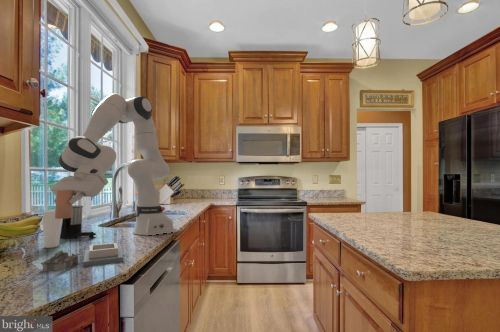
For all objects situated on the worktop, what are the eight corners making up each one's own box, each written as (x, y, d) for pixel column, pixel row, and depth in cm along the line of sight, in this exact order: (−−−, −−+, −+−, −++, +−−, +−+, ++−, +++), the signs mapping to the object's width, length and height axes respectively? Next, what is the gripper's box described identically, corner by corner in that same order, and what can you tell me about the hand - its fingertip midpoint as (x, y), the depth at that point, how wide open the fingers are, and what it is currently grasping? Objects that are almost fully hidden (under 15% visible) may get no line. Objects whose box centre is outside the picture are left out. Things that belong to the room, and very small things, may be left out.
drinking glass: (50, 249, 108) (52, 212, 108) (36, 248, 109) (38, 211, 110) (65, 245, 114) (67, 210, 115) (52, 244, 116) (54, 209, 116)
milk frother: (61, 235, 133) (63, 205, 134) (98, 233, 139) (99, 204, 140) (54, 241, 120) (56, 208, 121) (94, 239, 126) (96, 207, 127)
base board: (119, 250, 109) (120, 240, 109) (122, 261, 95) (123, 250, 95) (85, 253, 103) (85, 243, 103) (83, 266, 89) (83, 254, 89)
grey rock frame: (61, 261, 95) (62, 249, 95) (82, 261, 95) (83, 250, 95) (37, 272, 84) (37, 258, 84) (60, 272, 84) (61, 259, 84)
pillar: (71, 216, 101) (72, 189, 101) (72, 218, 97) (73, 190, 97) (54, 217, 98) (56, 189, 98) (55, 219, 94) (56, 190, 94)
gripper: (62, 170, 108) (35, 196, 98) (103, 170, 102) (79, 197, 92) (71, 181, 112) (47, 207, 102) (112, 182, 106) (90, 209, 96)
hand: (62, 203), depth 97 cm, fingers closed on pillar, 5 cm apart
